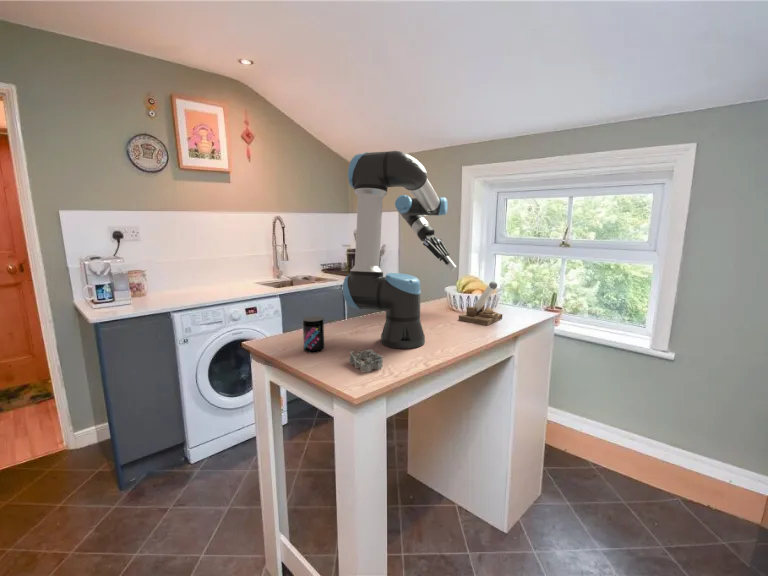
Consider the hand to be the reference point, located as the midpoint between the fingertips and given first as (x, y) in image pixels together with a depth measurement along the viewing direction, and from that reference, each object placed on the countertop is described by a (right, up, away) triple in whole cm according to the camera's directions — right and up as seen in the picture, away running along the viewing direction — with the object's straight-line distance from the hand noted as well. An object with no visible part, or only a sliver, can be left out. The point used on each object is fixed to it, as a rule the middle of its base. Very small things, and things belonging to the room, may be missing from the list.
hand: (453, 268), depth 164 cm
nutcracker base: (+10, -22, -5) cm, 25 cm away
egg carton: (-36, -31, -55) cm, 73 cm away
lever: (+8, -18, -4) cm, 20 cm away
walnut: (+13, -20, -8) cm, 25 cm away
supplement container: (-53, -29, -42) cm, 74 cm away
